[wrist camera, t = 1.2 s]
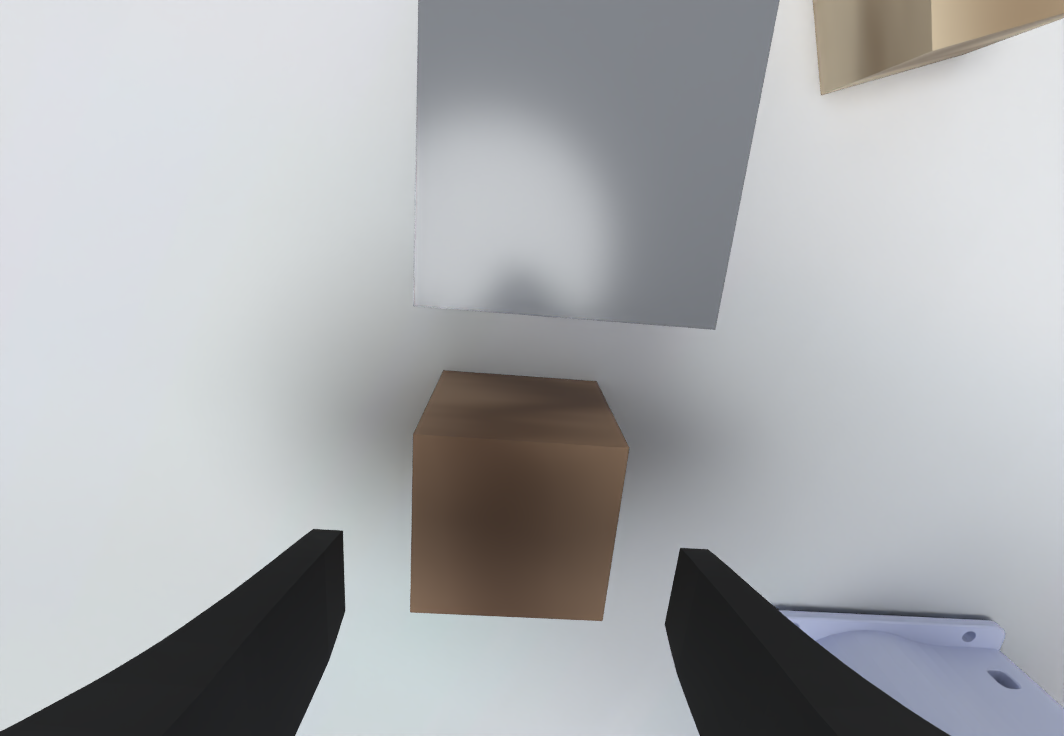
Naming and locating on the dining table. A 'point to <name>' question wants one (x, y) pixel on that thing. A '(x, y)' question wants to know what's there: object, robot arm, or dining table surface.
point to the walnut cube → (515, 497)
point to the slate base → (584, 154)
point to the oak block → (913, 33)
